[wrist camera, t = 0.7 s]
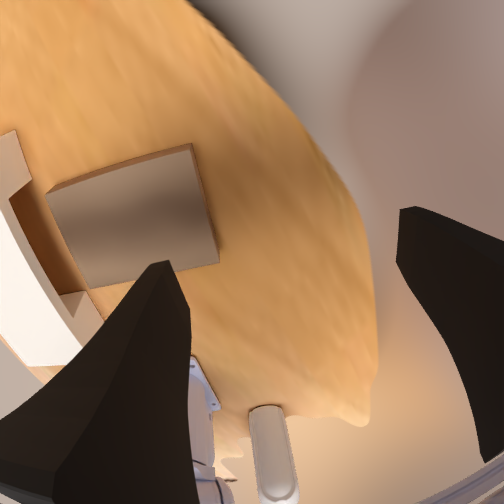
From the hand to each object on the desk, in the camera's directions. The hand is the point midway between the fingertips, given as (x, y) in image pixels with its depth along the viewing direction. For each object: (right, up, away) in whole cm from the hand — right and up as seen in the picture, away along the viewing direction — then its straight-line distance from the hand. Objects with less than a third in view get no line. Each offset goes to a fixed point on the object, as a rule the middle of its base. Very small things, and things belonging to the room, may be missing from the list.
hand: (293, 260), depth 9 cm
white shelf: (-17, +1, +9) cm, 19 cm away
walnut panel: (-8, +3, +9) cm, 13 cm away
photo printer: (+1, -20, +25) cm, 32 cm away
